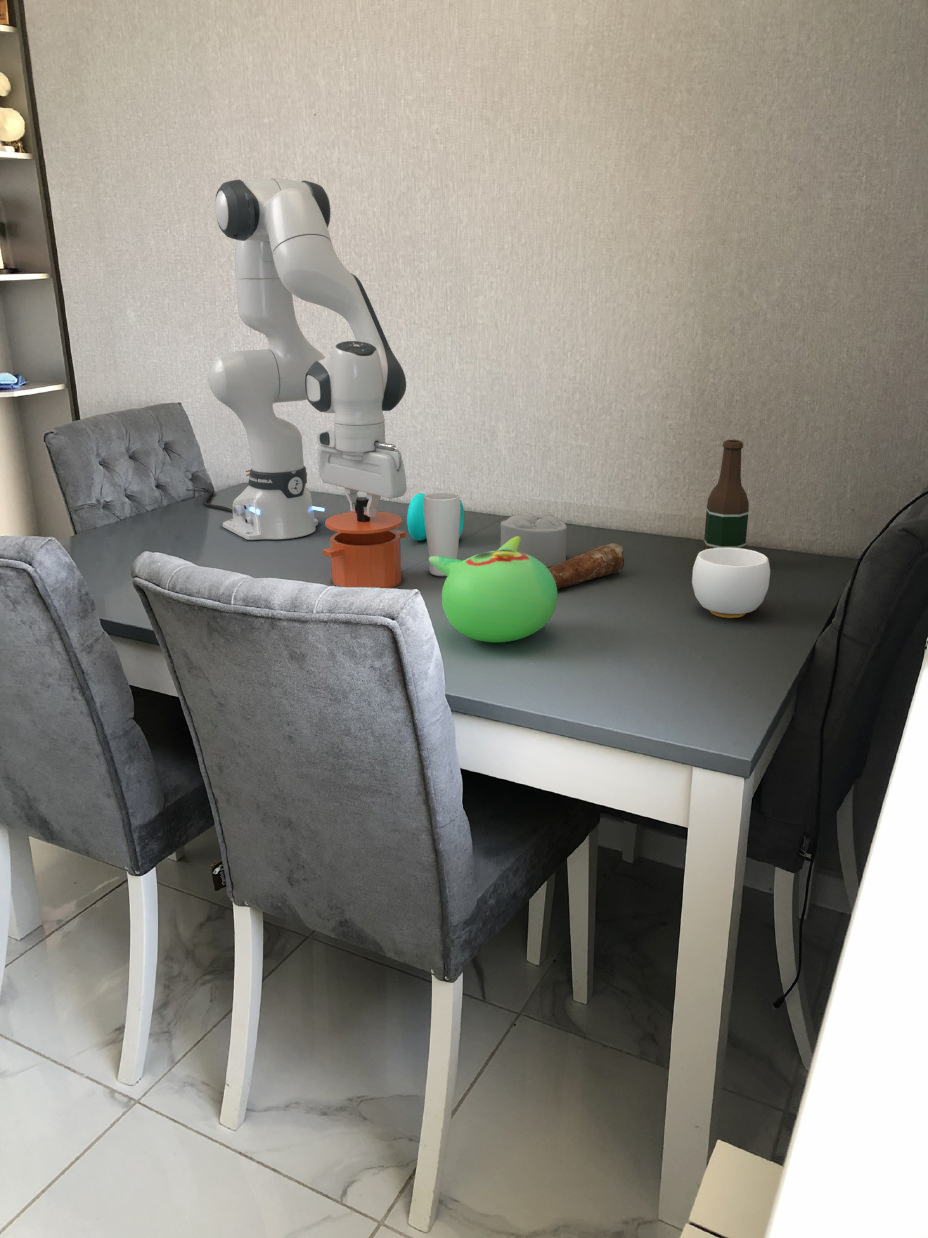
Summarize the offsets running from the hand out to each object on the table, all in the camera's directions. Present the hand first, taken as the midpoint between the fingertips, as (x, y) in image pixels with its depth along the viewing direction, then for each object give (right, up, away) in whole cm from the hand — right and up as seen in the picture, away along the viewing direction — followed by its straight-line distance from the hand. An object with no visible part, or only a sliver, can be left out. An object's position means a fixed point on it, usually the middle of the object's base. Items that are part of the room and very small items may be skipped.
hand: (363, 514), depth 175 cm
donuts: (+12, -3, +30) cm, 32 cm away
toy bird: (+24, -22, -23) cm, 40 cm away
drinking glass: (+14, -10, +8) cm, 20 cm away
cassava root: (+40, -12, +2) cm, 42 cm away
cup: (+62, -18, -14) cm, 66 cm away
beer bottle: (+68, -9, +11) cm, 69 cm away
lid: (0, -2, +1) cm, 2 cm away
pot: (0, -12, +4) cm, 13 cm away
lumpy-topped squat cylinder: (+33, -7, +17) cm, 37 cm away
